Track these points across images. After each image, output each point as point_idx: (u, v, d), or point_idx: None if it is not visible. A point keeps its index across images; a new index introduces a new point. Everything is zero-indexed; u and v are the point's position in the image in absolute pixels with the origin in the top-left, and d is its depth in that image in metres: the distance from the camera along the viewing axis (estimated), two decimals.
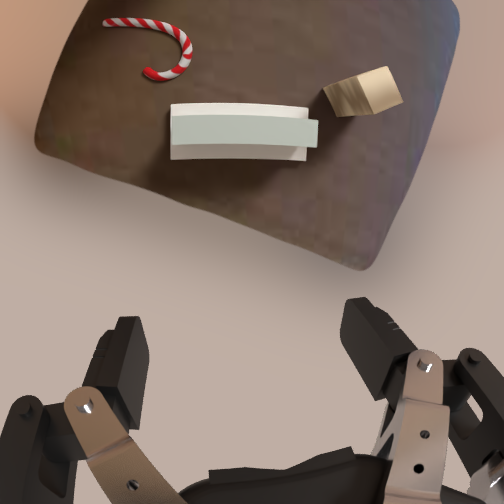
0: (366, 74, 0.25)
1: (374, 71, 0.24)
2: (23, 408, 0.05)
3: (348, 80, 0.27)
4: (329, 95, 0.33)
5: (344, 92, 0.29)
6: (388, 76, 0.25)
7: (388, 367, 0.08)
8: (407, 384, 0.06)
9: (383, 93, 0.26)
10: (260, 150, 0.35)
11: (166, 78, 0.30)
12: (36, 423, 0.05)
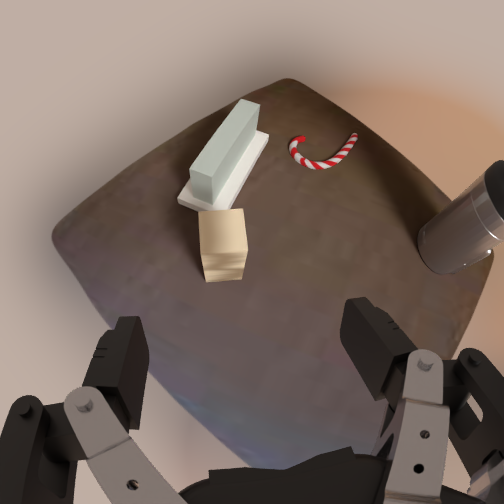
0: (242, 219, 0.29)
1: (244, 230, 0.29)
2: (23, 408, 0.05)
3: None
4: None
5: None
6: (234, 245, 0.28)
7: (388, 367, 0.08)
8: (407, 384, 0.06)
9: (217, 231, 0.28)
10: None
11: (290, 143, 0.46)
12: (36, 423, 0.05)
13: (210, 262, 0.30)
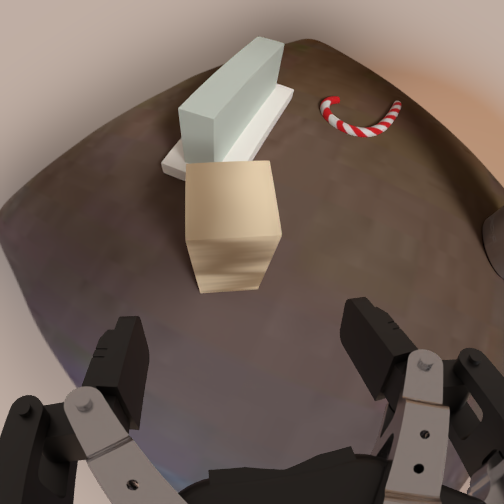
0: (269, 179, 0.15)
1: (273, 198, 0.15)
2: (23, 408, 0.05)
3: None
4: None
5: None
6: (255, 226, 0.14)
7: (388, 367, 0.08)
8: (407, 384, 0.06)
9: (220, 198, 0.14)
10: None
11: (322, 103, 0.32)
12: (36, 423, 0.05)
13: (206, 260, 0.16)
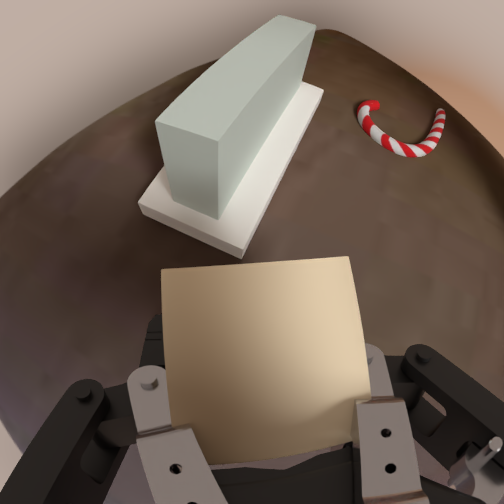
0: (352, 307, 0.07)
1: (360, 356, 0.06)
2: (83, 392, 0.06)
3: None
4: None
5: None
6: (325, 427, 0.05)
7: None
8: None
9: (247, 369, 0.06)
10: None
11: (359, 109, 0.23)
12: (98, 406, 0.06)
13: None
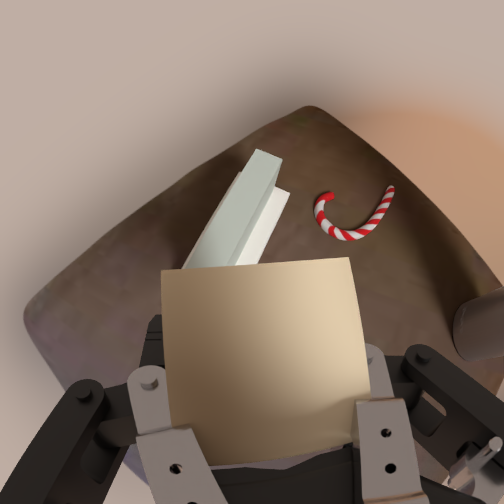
0: (352, 308, 0.07)
1: (360, 357, 0.06)
2: (83, 392, 0.06)
3: None
4: None
5: None
6: (325, 429, 0.05)
7: None
8: None
9: (247, 370, 0.06)
10: None
11: (316, 204, 0.37)
12: (98, 406, 0.06)
13: None
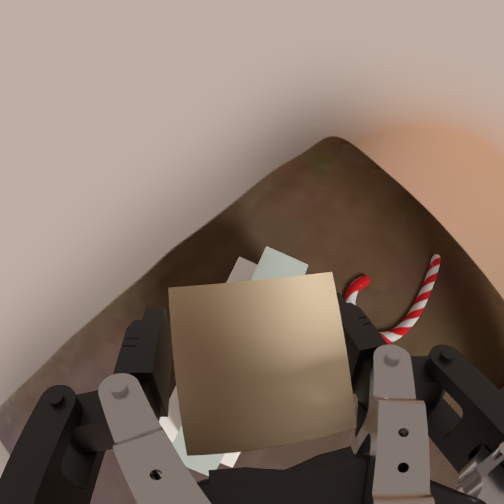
0: (334, 317, 0.08)
1: (342, 359, 0.07)
2: (55, 398, 0.05)
3: None
4: None
5: None
6: (312, 421, 0.06)
7: (355, 361, 0.08)
8: (376, 382, 0.07)
9: (244, 371, 0.07)
10: None
11: (346, 298, 0.26)
12: (69, 412, 0.05)
13: None
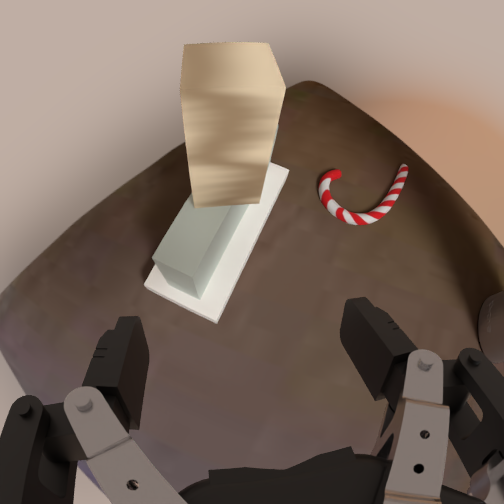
0: (269, 53, 0.12)
1: (274, 64, 0.12)
2: (24, 408, 0.05)
3: None
4: None
5: None
6: (256, 80, 0.11)
7: (388, 367, 0.08)
8: (407, 384, 0.06)
9: (218, 62, 0.11)
10: None
11: (320, 183, 0.31)
12: (36, 423, 0.05)
13: (201, 132, 0.13)
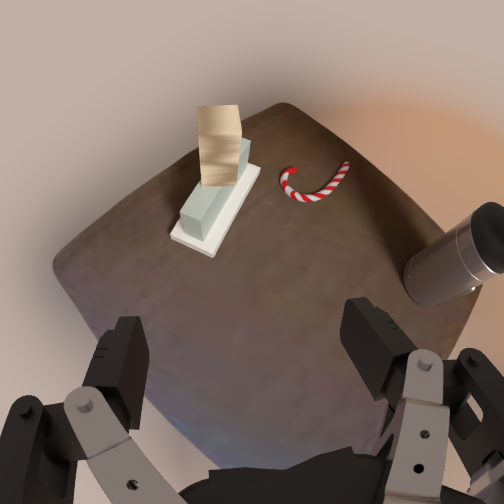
0: (237, 112, 0.30)
1: (238, 118, 0.29)
2: (24, 408, 0.05)
3: None
4: None
5: None
6: (229, 128, 0.28)
7: (388, 367, 0.08)
8: (407, 384, 0.06)
9: (213, 119, 0.29)
10: None
11: (281, 176, 0.48)
12: (36, 423, 0.05)
13: (206, 150, 0.30)
